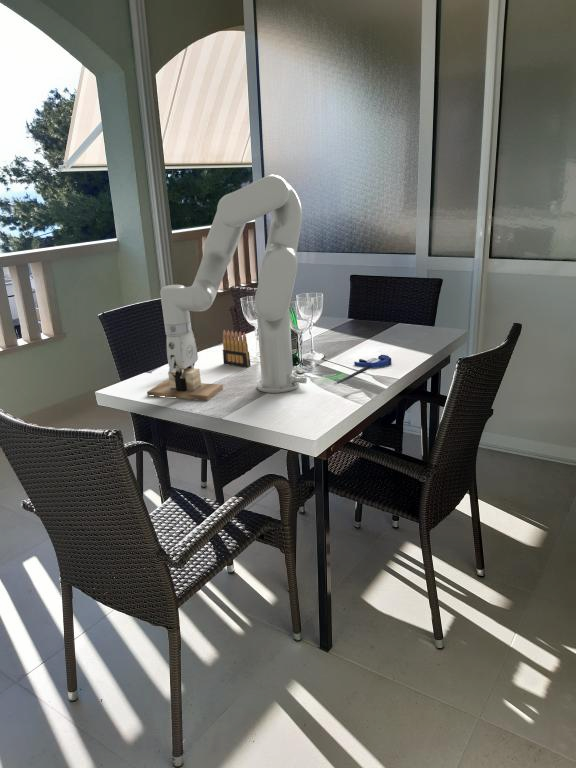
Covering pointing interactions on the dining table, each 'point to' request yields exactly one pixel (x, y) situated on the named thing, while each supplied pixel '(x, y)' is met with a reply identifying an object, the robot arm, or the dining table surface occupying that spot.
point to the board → (201, 393)
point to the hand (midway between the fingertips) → (185, 387)
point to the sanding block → (188, 379)
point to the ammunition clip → (235, 350)
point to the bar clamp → (370, 364)
